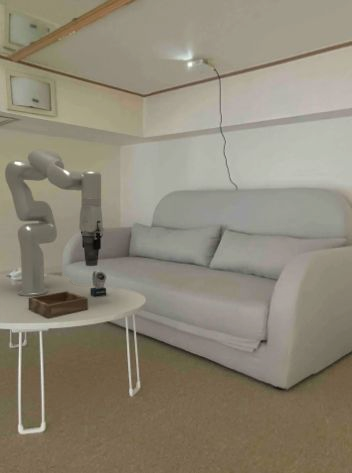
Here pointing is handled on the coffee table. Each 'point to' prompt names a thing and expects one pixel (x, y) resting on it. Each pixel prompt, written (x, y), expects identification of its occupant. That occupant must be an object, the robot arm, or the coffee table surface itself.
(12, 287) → the coffee table surface
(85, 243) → the beverage cup
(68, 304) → the walnut tray
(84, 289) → the coffee table surface
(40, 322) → the coffee table surface
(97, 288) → the watch
